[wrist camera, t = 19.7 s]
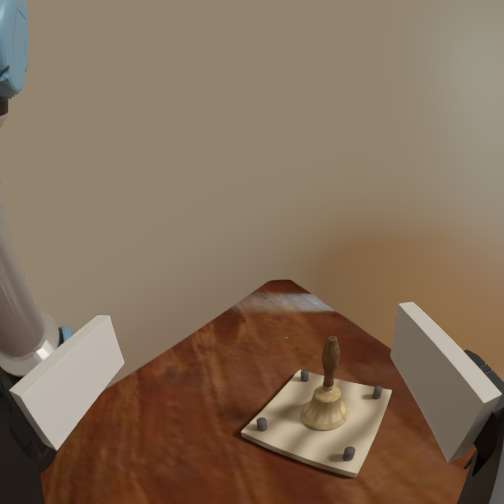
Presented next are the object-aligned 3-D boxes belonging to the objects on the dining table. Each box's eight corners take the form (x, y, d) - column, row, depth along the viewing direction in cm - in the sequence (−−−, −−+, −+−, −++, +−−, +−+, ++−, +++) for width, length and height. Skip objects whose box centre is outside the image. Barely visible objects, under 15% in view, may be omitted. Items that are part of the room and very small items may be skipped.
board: (241, 436, 38) (239, 424, 37) (299, 375, 53) (299, 362, 53) (355, 478, 26) (359, 467, 25) (390, 395, 42) (393, 382, 41)
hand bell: (348, 398, 42) (357, 323, 39) (348, 431, 34) (361, 353, 31) (303, 397, 45) (304, 323, 41) (296, 429, 37) (297, 353, 33)
